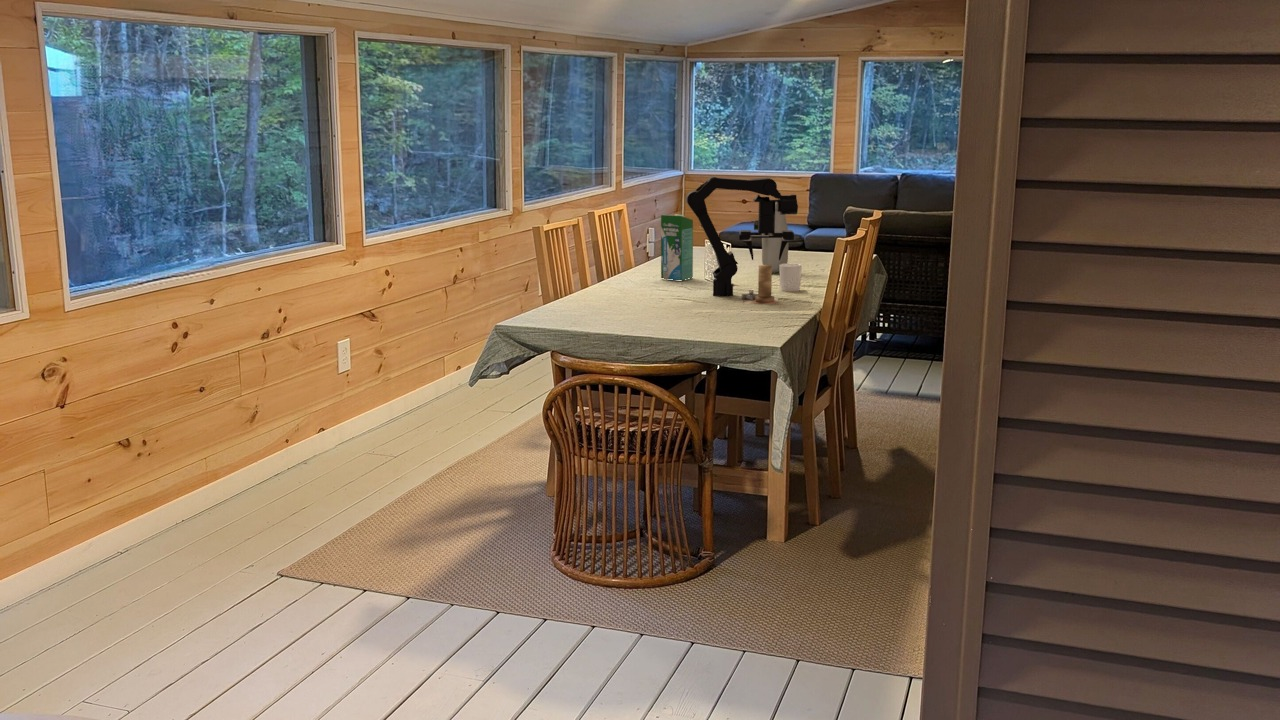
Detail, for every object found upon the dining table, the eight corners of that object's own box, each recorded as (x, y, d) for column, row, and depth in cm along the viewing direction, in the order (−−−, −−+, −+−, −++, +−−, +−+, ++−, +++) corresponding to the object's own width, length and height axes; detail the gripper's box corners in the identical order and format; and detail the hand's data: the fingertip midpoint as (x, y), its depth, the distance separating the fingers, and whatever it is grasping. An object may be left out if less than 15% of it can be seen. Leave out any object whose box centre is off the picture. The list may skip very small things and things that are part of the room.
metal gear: (741, 300, 381) (741, 291, 380) (741, 297, 387) (741, 288, 387) (761, 300, 380) (761, 292, 379) (760, 297, 387) (760, 288, 386)
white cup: (800, 294, 398) (801, 266, 395) (777, 294, 399) (778, 266, 397) (801, 291, 405) (802, 263, 403) (779, 290, 407) (780, 263, 405)
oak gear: (754, 302, 375) (754, 266, 373) (755, 299, 382) (756, 264, 379) (773, 303, 374) (774, 267, 372) (774, 299, 380) (775, 264, 378)
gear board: (742, 306, 375) (742, 303, 375) (742, 299, 389) (742, 296, 388) (778, 307, 374) (778, 303, 374) (777, 299, 388) (777, 296, 387)
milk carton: (692, 278, 436) (693, 213, 431) (681, 281, 429) (681, 215, 423) (672, 276, 441) (672, 212, 435) (660, 279, 434) (660, 214, 428)
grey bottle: (769, 270, 456) (770, 200, 450) (791, 272, 450) (793, 201, 444) (757, 273, 448) (758, 202, 442) (779, 275, 442) (781, 203, 436)
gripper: (793, 212, 394) (792, 257, 397) (739, 212, 396) (739, 256, 399) (794, 215, 383) (793, 261, 387) (739, 215, 385) (739, 261, 388)
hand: (766, 260), depth 390 cm, fingers open, 9 cm apart
